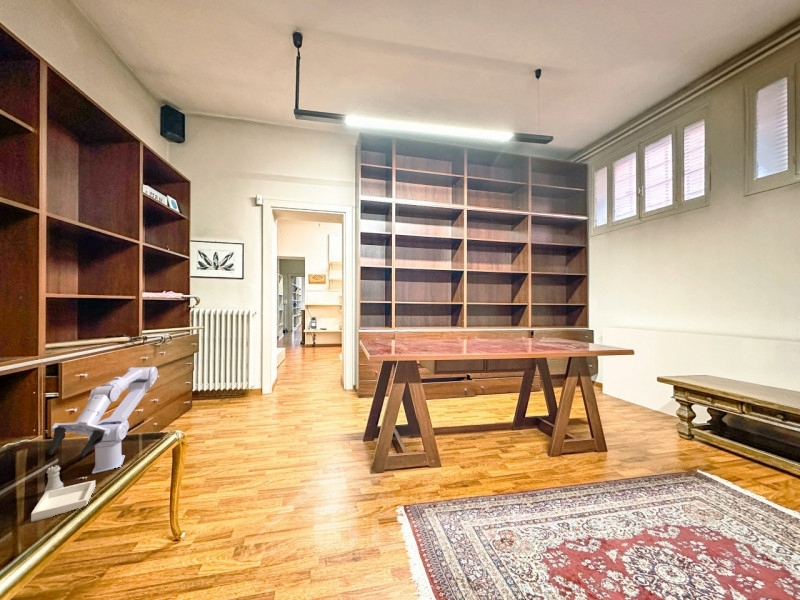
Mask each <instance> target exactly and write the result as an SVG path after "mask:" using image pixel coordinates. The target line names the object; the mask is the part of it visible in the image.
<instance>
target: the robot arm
mask: <svg viewBox="0 0 800 600" xmlns="http://www.w3.org/2000/svg"><path fill="white" fill-rule="evenodd" d="M158 372H159V371H158V368H157V366H146V367H145V366H144V367H143V366H142V367H141V366H140V367H134V366H132V367H130V368H128V369H127V370H126V374H124V375H122V376H115V377H114V378H113V379H111V380H110V381H109V382H106V383H105V384H104V385H102V386H99V385H98V386H97V387H95V388H92V389H91V391H90V394H89V398H88V399H87V402H86V403H87V404H86V405H85V406H84V409H82V410H81V413H80V414H79V416H77V419H76V420H75V421H74V422H64V423H63V422H55V423H54V424H53V425H52V427H51V428H50V430H51V432H52V433H53V438H52V439H53V440H52V443H51V444H50V447H49V450H48V455H51V456H52V455H53V454H54V453H55V451H56V450H57V448H58V446H59V445H60V444H61V442H62V441H63V440H64V439H65V438H66V433H73V434H77V435H81V436H82V435H83V436H87V441H88V442H87V443H86V444H85V446H84V447H83V449H82V450H81V452H80V458H84V457H85V456H86V454H87V453H88V452H89V451H90V450H92V448H94V452H95V453H94V455H95V457H94V458H95V461H94V462H95V465H94V468H93V469H92V471H91V474H93V475H94V474H96V473H97V474H98V473H102V472H107V471H110V470H111V471H112V470H115V469H114V468H116V469H119V468H118V467H120V468H122V466H121V465H123V463H124V460H125V457H126V455H124V454H122V441H123V440H125V439H124V438H126V436H127V433H128V430H129V429H130V424H129V421H128V418H130V416H131V415H132V413H133V412H134V411H135V409H136V407H137V406H138V405H139V403H140V402H141V400H142V399H143V398H144V396H145V395H146V394H147V391H148V390H149V389H150V388H152V387H153V385H154V384H155V382H156V381H157V379H158V375H159V373H158ZM127 389H128V390H129V392H128V393H127V395H126V396H125V397H124V399H122V400H121V402H120V403H119V405H118V406H117V407H116V408H115V410H114V411H113V412H112V413H111V414H110V416H109V417H106V418H104V419H102V418H103V416H104V414H105V413H106V411H107V409H108V408H109V406H110V404H111V403H112V402H117V400H118V399H119V397H120V395H121V394H122V393H123V392H124V391H126V390H127Z"/></svg>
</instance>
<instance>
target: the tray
mask: <svg viewBox="0 0 800 600" xmlns="http://www.w3.org/2000/svg"><path fill="white" fill-rule="evenodd" d="M96 486H97V485H96V479H95V480H91V481H85V482H82V483H81V482H80V483H77V484H73V485H68V486H64V487H63V488H59V489H55V490H50V491H46V492H45V491H44V492H45V493H44V492H43V493H44V494H43V495H42V496H41V498H40V500H39V501H38V503H37V504H36V506H35V507H34V509H33V510H32V512H31V514H30V521H31V523H33V522H38V521H42V520H45V519H48V518H52V517H53V516H54V517H56V516H55V515H57V516H59V515H58V514H61V513H65V512H68V511H71V510H74V509H77V508H80V507H83V506H86V505H87V504H88V501H89V499H90V498H91V499H92V497H91V495H92V493H93V494H94V492H95V490H96V488H95V487H96ZM94 489H95V490H94ZM93 491H94V492H93ZM92 496H93V495H92ZM91 499H90V500H91ZM89 502H90V501H89ZM88 505H89V504H88ZM65 514H66V513H65ZM61 515H62V514H61Z"/></svg>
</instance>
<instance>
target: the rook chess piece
mask: <svg viewBox="0 0 800 600" xmlns="http://www.w3.org/2000/svg"><path fill="white" fill-rule="evenodd" d="M61 468H62V467H60V465H58V464H57V465H54V466H53V465H52V466H50V467H48V468H47V470H46V471H45V473H46V474H47V476H46V477H47V484H46V486H45V488H44V492H43V493H45V492H46V491H50V490H55V489H59V488H63V487H65V486H64V482H63V481H61V478H60V474H61V473H60V470H61Z"/></svg>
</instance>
